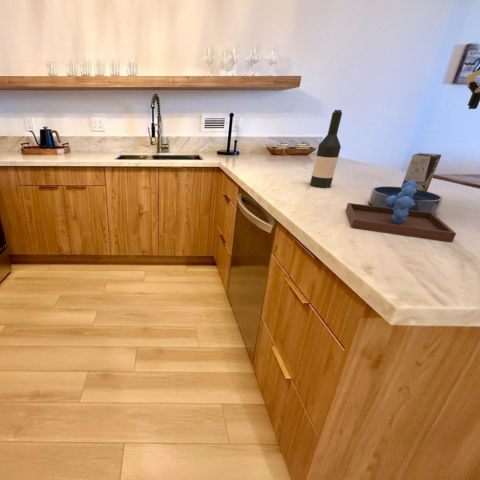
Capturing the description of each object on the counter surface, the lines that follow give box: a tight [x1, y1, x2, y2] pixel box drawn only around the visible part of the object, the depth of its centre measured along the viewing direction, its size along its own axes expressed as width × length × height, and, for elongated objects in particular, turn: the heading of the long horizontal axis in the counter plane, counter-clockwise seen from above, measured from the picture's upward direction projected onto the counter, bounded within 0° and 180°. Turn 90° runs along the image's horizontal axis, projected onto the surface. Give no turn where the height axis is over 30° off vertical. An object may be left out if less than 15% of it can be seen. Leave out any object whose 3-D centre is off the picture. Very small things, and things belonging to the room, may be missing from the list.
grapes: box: [385, 180, 418, 225], centre depth 80 cm, size 12×7×12 cm, turn 140°
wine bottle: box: [309, 109, 343, 189], centre depth 118 cm, size 8×8×30 cm
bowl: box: [368, 185, 444, 215], centre depth 96 cm, size 18×18×5 cm
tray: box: [345, 202, 457, 243], centre depth 82 cm, size 22×18×2 cm
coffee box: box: [400, 152, 442, 192], centre depth 101 cm, size 9×6×16 cm
